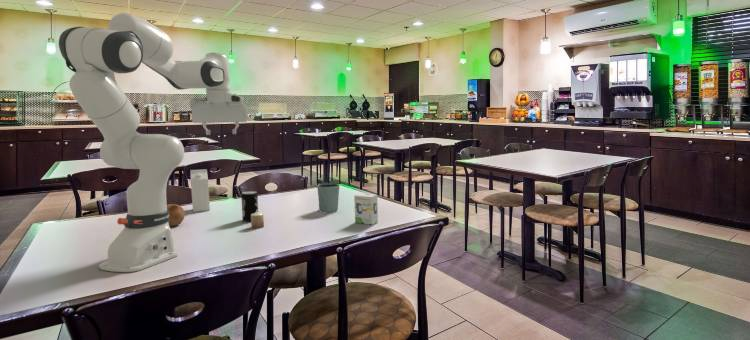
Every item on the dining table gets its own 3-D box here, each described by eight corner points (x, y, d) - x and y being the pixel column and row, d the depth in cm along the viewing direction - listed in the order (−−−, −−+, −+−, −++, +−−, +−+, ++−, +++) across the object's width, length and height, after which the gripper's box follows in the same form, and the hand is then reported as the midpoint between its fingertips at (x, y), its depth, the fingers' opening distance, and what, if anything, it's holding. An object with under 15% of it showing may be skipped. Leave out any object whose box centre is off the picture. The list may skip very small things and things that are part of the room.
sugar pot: (260, 228, 167) (259, 215, 166) (249, 228, 168) (248, 215, 167) (266, 225, 171) (265, 212, 171) (255, 225, 172) (254, 212, 172)
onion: (179, 233, 171) (182, 214, 167) (154, 229, 169) (156, 209, 164) (186, 220, 179) (189, 200, 175) (162, 215, 177) (164, 195, 173)
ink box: (378, 222, 175) (378, 194, 174) (372, 225, 171) (372, 196, 169) (360, 219, 179) (360, 192, 178) (354, 222, 175) (353, 194, 173)
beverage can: (254, 222, 176) (252, 194, 175) (239, 221, 178) (238, 193, 176) (261, 218, 183) (260, 191, 181) (247, 217, 184) (246, 190, 182)
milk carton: (192, 209, 200) (190, 169, 198) (208, 207, 203) (206, 168, 201) (193, 212, 194) (190, 171, 191) (209, 210, 197) (207, 170, 194)
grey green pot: (314, 212, 193) (313, 186, 191) (323, 207, 203) (322, 182, 201) (334, 213, 190) (334, 187, 188) (343, 208, 200) (342, 183, 198)
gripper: (188, 97, 155) (191, 135, 157) (247, 97, 161) (249, 134, 163) (190, 98, 161) (192, 134, 163) (246, 97, 167) (248, 133, 169)
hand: (221, 134), depth 163 cm, fingers open, 8 cm apart
